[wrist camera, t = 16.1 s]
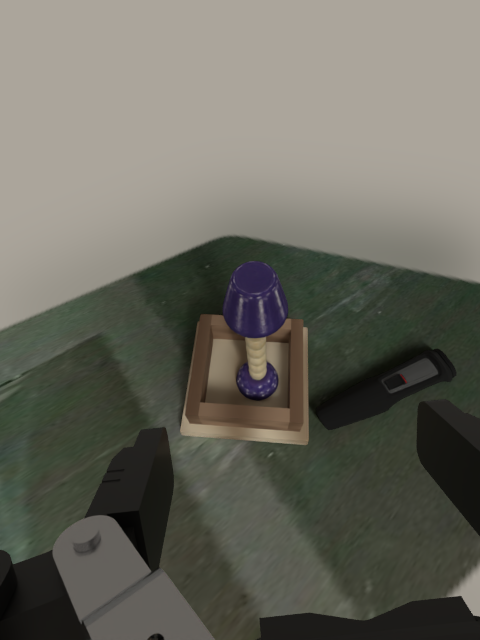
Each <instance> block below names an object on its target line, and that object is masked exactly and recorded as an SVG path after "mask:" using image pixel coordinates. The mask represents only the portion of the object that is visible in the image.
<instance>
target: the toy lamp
mask: <svg viewBox="0 0 480 640" xmlns="http://www.w3.org/2000/svg"><path fill="white" fill-rule="evenodd" d="M287 315H288V303H287V300H286V297H285V294H284V291H283V288H282V286H281V283H280V281H279V278H278V276H277V274H276V272H275V271H274V270H273V268H271V267H270V266H269V265H267V264H266V263H263V262H259V261H251V262H246V263H244V264H241V265H240V266H239V267H237V268H236V269H235V271H234V272H233V274H232V276H231V278H230V281H229V285H228V288H227V292H226V295H225V299H224V303H223V316H224V319H225V321H226V323H227V325H228V326H229V327H230V329H231V330H233V331H234V332H235V333H237V334H239V335H241V336H243V337H245V341H246V351H247V359H248V362H246V363H244V364H243V365H242V366H241V367H240V369H239V371H238V373H237V377H236V384H237V387H238V389H239V391H240V392H241V394H242V395H244V396H245V397H246V398H248V399H251V400H256V401H260V400H264V399H267V398H269V397H270V396H271V395H273V393H274V392H275V391H276V389H277V387H278V381H279V379H278V374H277V371H276V370H275V368H274V367H273V366H272V365H271V364H270V363H269V362H267V361H266V358H267V355H266V337H267V336H269V335H272V334H273V333H275V332H277V331H278V330H279V329H280V328H281V327H282V326H283V324H284V323H285V320H286V318H287Z"/></svg>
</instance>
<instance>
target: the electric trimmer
mask: <svg viewBox="0 0 480 640" xmlns="http://www.w3.org/2000/svg"><path fill="white" fill-rule="evenodd" d="M455 376H456V370H455V368H454V366H453V364H452V363H451V362H450V360H449V359H448V358H447V356H446V355H445V354H444V353H443V352H442V351H441V350H440V349H434V350H433V351H431V350H426V351H424V352H423V353H422V354H420V355H418V356H416V357H414V358H412V359H410V360H408V361H406V362H404V363H402V364H400V365H398V366H396V367H394V368H392V369H390V370H388V371H386V372H384V373H382V374H379V375H377V376H375V377H372V378H368V379H366V380H364V381H362V382H360V383H358V384H356V385H354V386H353V387H351V388H349V389H347V390H346V391H344V392H342V393H340V394H338V395H337V396H335V397H333V398H331V399H330V400H328V401H326V402H325V403H323V404H321V405H320V406H318V407H317V408H316V413H317V415H318V417H319V419H320V420H321V422H322V423H323V425H324V426H325V427H326V428H327V429H328V430H332V429H336V428H339V427H342V426H345V425H348V424H351V423H354V422H357V421H360V420H363V419H366V418H369V417H372V416H375V415H378V414H380V413H383V412H385V411H387V410H388V409H389V408H390V407H391V406H392V405H393V404H395V403H396V402H398V401H400V400H401V399H403V398H405V397H407V396H410V395H412V394H414V393H416V392H418V391H420V390H423V389H425V388H427V387H429V386H432V385H434V384H436V383H439V382H442V381H446V382H450V381H451V380H452V378H453V377H455Z"/></svg>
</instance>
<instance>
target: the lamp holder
mask: <svg viewBox="0 0 480 640" xmlns="http://www.w3.org/2000/svg"><path fill="white" fill-rule="evenodd" d="M266 355H267V358H266V361H267V362H269V363H270V364H271V365H272V366H273V367H274V368H275V370H276V371H277V374H278V379H279V381H278V387H277V389H276V391H275V392H274V393H273V395H271V396H270V397H269V398H267V399H264V400H260V401H256V400H251V399H248V398H246V397H245V396H244V395H242V394H241V392H240V391H239V389H238V387H237V384H236V377H237V373H238V371H239V369H240V367H241V366H242V365H243V364H244V363H246V362H248V359H247V351H246V341H245V337H243V336H241V335H239V334H237V333H235V332H234V331H233V330H231V329H230V327H229V326H228V325H227V323H226V321H225V319H224V316H223V315H209V314H201V315H200V321H199V322H198V323H197V329H196V335H195V341H194V348H193V354H192V360H191V367H190V373H189V379H188V385H187V392H186V398H185V404H184V410H183V417H182V423H181V429H180V432H181V434H182V435H184V436H197V437H210V438H223V439H236V440H249V441H263V442H276V443H289V444H302V445H307V443H308V441H309V431H308V331H307V328H304V327H303V320H301V319H286V320H285V323H284V324H283V326H282V327H281V328H280V329H279V330H278V331H277V332H275V333H273V334H272V335H269V336H267V337H266Z"/></svg>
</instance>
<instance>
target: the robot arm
mask: <svg viewBox="0 0 480 640" xmlns="http://www.w3.org/2000/svg"><path fill="white" fill-rule="evenodd" d="M417 453H418V456H419V459H420V462H421V464H422V465H423V467H424V468H425V469H426V470H427V472H428V473H429V474H430V475H431V477H432V478H433V479H434V480H435V482H436V483H437V484H438V485H439V486H440V488H441V489H442V490H443V491H444V493H445V494H446V495H447V496H448V498H449V499H450V500H451V501H452V503H453V504H454V505H455V506H456V507H457V509H458V510H459V511H460V512H461V514H462V515H463V516H464V517H465V519H466V520H467V521H468V522H469V524H470V525H471V526H472V527H473V528H474V530H475V531H476V532H477V533H478V535H479V536H480V419H479V418H477V417H475V416H472V415H470V414H468V413H463V412H462V411H461V410H460V409H458V408H457V407H456V406H455V405H453V404H452V403H451V402H450V401H448V400H446V399H442V400H433V401H423V402H420V403H419V406H418V416H417ZM173 488H174V475H173V467H172V460H171V454H170V448H169V441H168V435H167V431H166V428H165V427H162V428H153V429H143V430H141V431H140V432H139V435H138V437H137V440H136V442H135V445H134V447H127V448H123V449H122V450H121V451H120V452H119V453H118V454H117V455H116V456H115V457H114V458H113V459H112V461H111V463H110V465H109V467H108V469H107V473H105V475H104V478H103V480H102V484H100V486H99V488H98V490H97V492H96V495H95V497H94V499H93V501H92V503H91V505H90V507H89V509H88V512H87V514H86V516H85V518H84V519H82V520H80V521H78V522H76V523H74V524H73V525H71V526H70V527H68V528H67V529H66V530H65V531H64V532H63V533H62V534H61V535H60V536H59V537H58V539H57V540H56V542H55V544H54V547H53V550H51V551H49V552H47V553H44V554H42V555H39V556H36V557H33V558H30V559H28V560H25V561H22V562H19V563H16V564H12V561H11V557H10V555H9V554H8V553H7V552H5V551H3V550H0V640H215V639H214V638H213V636H212V635H211V634H210V632H209V631H208V630H207V628H206V627H205V626H204V624H203V623H202V622H201V620H200V619H199V617H198V616H197V615H196V613H195V612H194V611H193V609H192V608H191V607H190V605H189V604H188V603H187V601H186V600H185V599H184V597H183V596H182V595H181V593H180V592H179V590H178V589H177V588H176V586H175V585H174V584H173V582H172V581H171V580H170V578H169V577H168V576H167V574H166V573H165V572H164V571H163V570H162V569H161V568H159V563H160V558H161V553H162V547H163V542H164V537H165V532H166V526H167V521H168V516H169V511H170V505H171V500H172V495H173ZM259 619H260V630H261V638H259V639H256V640H480V617H479V616H473V614H472V613H471V611H470V610H469V608H468V607H467V605H466V604H465V602H464V600H463V599H462V597H461V596H457V597H447V598H438V599H429V600H420V601H412V602H409V603H407V604H405V605H402V606H400V607H398V608H395V609H393V610H391V611H388V612H386V613H384V614H381V615H379V616H377V617H374V618H372V619H370V620H365V621H361V620H354V619H347V618H340V617H334V616H327V615H321V614H314V613H303V614H293V615H284V616H275V617H266V618H259Z"/></svg>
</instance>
